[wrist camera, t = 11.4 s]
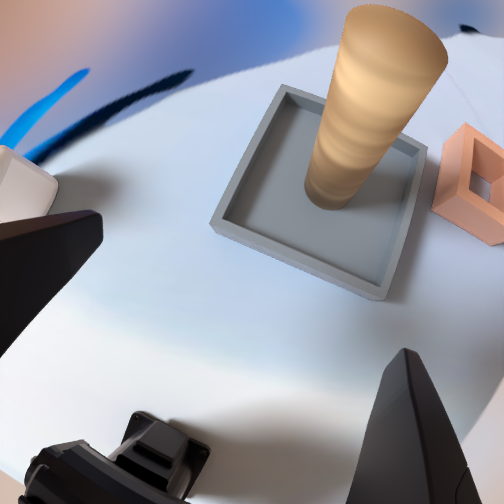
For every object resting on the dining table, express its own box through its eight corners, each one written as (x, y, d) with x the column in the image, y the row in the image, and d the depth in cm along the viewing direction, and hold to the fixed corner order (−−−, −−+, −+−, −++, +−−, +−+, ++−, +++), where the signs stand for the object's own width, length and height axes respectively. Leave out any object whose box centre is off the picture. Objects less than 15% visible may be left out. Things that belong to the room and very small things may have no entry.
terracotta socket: (490, 246, 20) (518, 237, 16) (430, 210, 21) (456, 194, 17) (498, 180, 21) (522, 164, 17) (443, 143, 22) (465, 122, 18)
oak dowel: (353, 212, 20) (460, 87, 6) (303, 208, 20) (353, 60, 7) (352, 166, 21) (431, 19, 7) (304, 161, 21) (339, -3, 7)
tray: (371, 300, 20) (384, 300, 18) (216, 232, 22) (208, 223, 19) (414, 161, 22) (428, 146, 19) (280, 103, 23) (281, 83, 21)
